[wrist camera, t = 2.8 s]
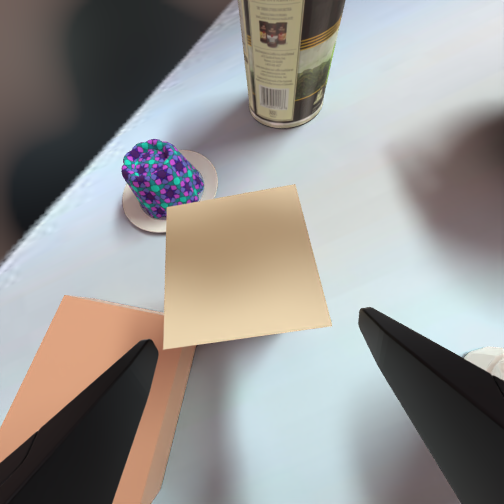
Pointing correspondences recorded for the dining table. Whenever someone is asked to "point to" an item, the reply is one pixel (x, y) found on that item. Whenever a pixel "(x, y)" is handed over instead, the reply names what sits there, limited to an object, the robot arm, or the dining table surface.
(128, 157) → the pudding
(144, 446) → the terracotta base
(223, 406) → the dining table surface
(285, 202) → the maple block
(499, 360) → the white cup
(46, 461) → the robot arm
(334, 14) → the coffee can
